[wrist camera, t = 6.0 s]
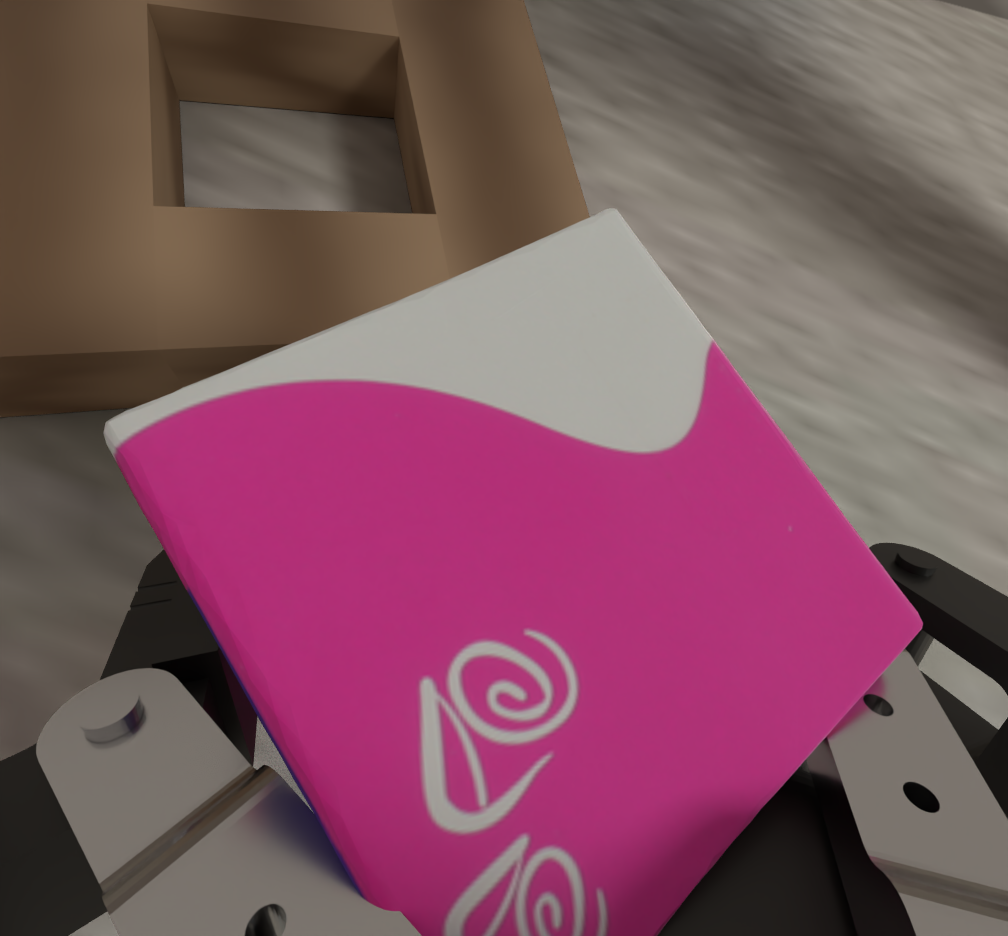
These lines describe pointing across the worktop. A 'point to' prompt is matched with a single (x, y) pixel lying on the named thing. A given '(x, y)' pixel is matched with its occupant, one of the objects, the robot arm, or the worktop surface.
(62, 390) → the wooden square frame
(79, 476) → the worktop surface
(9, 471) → the worktop surface
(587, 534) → the supplement box
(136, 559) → the worktop surface
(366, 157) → the worktop surface
